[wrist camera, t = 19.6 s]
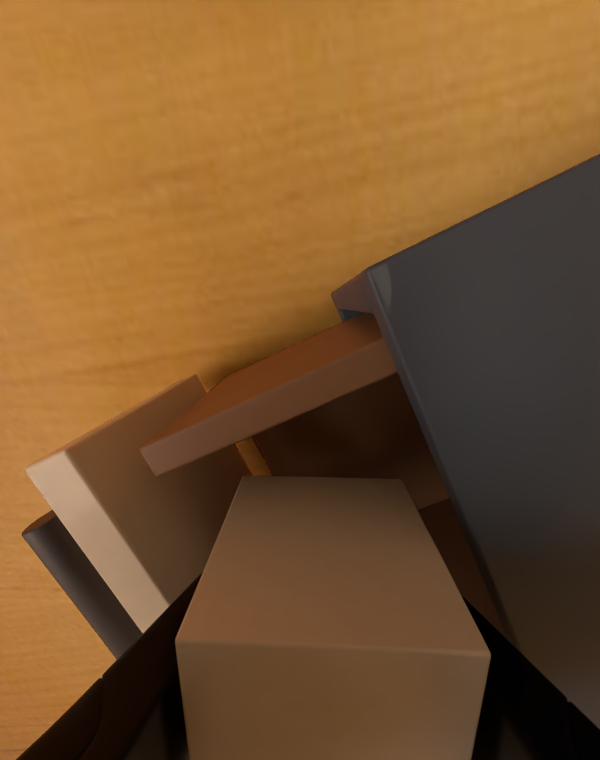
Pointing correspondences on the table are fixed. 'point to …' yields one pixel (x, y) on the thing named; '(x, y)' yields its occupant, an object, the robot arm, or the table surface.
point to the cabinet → (512, 404)
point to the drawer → (230, 474)
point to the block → (328, 631)
